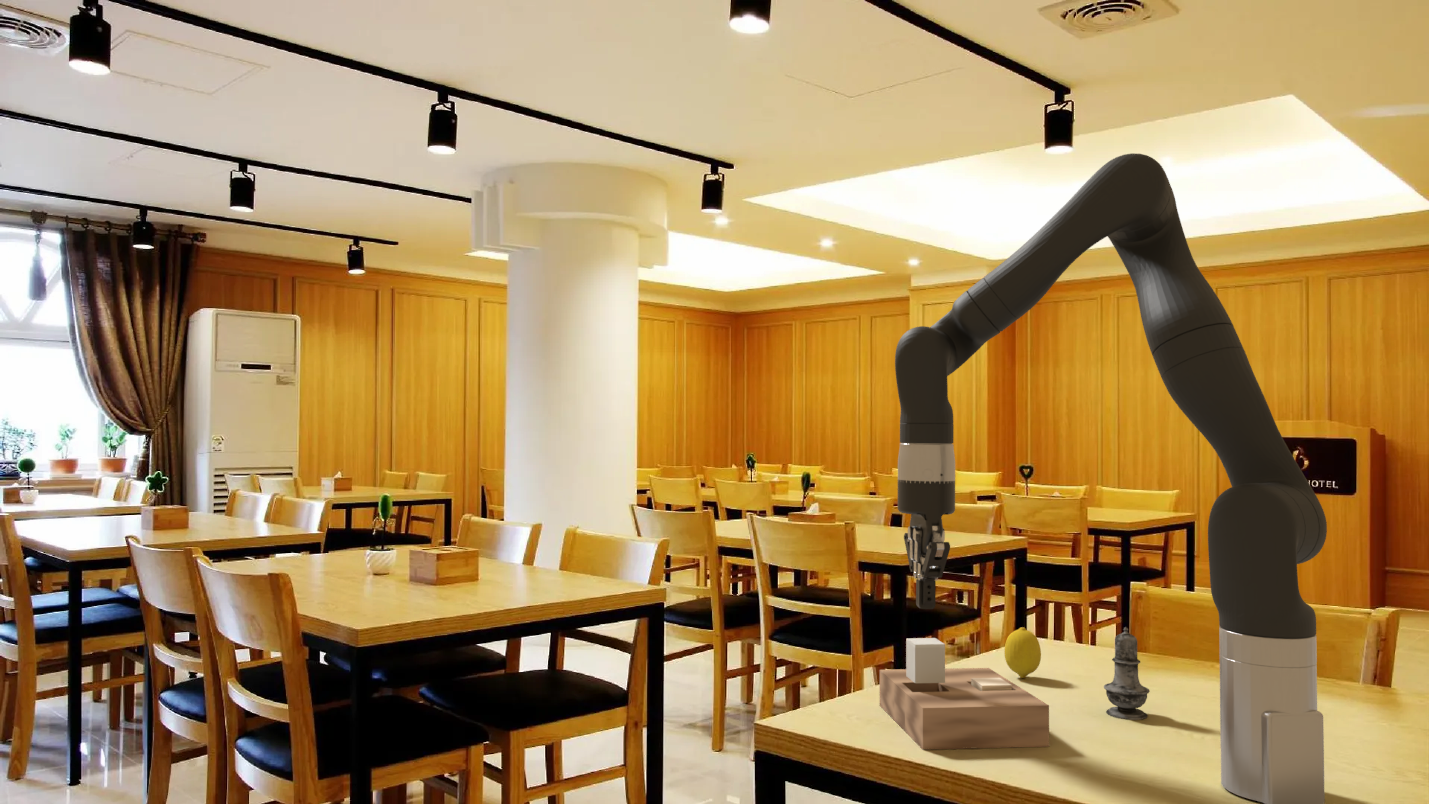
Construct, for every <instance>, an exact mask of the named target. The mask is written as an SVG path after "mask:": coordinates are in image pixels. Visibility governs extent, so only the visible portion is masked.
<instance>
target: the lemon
mask: <svg viewBox="0 0 1429 804" xmlns="http://www.w3.org/2000/svg"><path fill="white" fill-rule="evenodd" d="M1003 651H1004V660H1005V663H1006V664H1007V666H1008V668H1009V669H1010V670H1011V671H1012V672H1014V673H1015V674H1017V675H1018V676H1019V678H1021V679H1025V678H1026V677H1027V676H1028V675H1030V674H1032V673H1034V672H1035V671H1036V670H1037V669H1038V668H1039V666H1040V663H1041V659H1042V650H1041V645H1040V642H1039V639H1038V638H1037V636H1036V635H1035V634H1034V633H1033V632H1031V631H1030V630H1027V628H1025V627H1023V626H1022V627H1019V628H1018V629H1015V630H1013V631H1012V632H1011V633H1009V635H1008V636H1007V638H1006V640H1005V644H1004V650H1003Z"/></svg>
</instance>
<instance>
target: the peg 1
mask: <svg viewBox="0 0 1429 804" xmlns="http://www.w3.org/2000/svg"><path fill="white" fill-rule="evenodd" d="M905 644H906V645H905V647H906V648H905V652H906V653H905V654H906V655H905V656H906V657H905V662H906V663H905V667H906V668H905V669H906V676H907V677H908V678H909V679H911V680H912V681H913V682H914V683H945V669H946V644H945V642H942V641H940V640H939V639H938V638H936V637H924V638H923V637H917V638H916V637H913V638H906V641H905Z"/></svg>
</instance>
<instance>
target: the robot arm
mask: <svg viewBox="0 0 1429 804" xmlns="http://www.w3.org/2000/svg"><path fill="white" fill-rule="evenodd" d="M1166 173H1167V172H1166V171H1165V169H1164V168H1163V166H1162V165H1161V163H1159V162H1158V161H1157V160H1156V159H1154V158H1153V157H1151V156H1150V155H1147V154H1142V153H1127V154H1126V153H1125V154H1122V155H1119V156H1116V157H1115V158H1112V159H1111V160H1109V161H1107V162H1106V163H1105V164H1104V165H1102V166H1101V167H1100V168H1099V169H1098V170H1097V171H1096V172H1094V174H1092V176H1090V178H1089V179H1088V180H1086V182H1085V183H1084V184H1083V185H1082V186H1081V187H1080V188H1079V189H1078V190H1077V192H1075V193H1074V194H1073V196H1072V197H1071V198H1070V199H1069V200H1068V201H1067V202H1066V203H1065V204H1064V205H1063V206H1062V207H1061V208H1060V209H1058V211H1057V212H1055V214H1054V215H1053V216H1052V217H1051V218H1050V219H1049V220H1048V221H1047V222H1046V223H1045V224H1044V225H1043V226H1042V227H1041V228H1040V229H1039V230H1038V231H1037V232H1036V233H1034V234H1033V236H1031V237H1030V238H1029V239H1028V240H1027V241H1026V242H1025V243H1024V244H1023V245H1022V246H1021V247H1019V248H1018V249H1016V251H1015V252H1013V253H1012V254H1011V255H1010V256H1009V257H1007V258H1006V259H1005V260H1004V261H1002V262H1001V263H1000V264H999V265H998V266H997V267H995V268H994V269H993V270H991V271H990V272H988V273H987V274H985V276H984V277H982V278H981V279H980V280H978V281H977V282H976V283H974V284H973V285H972V286H971V287H969V288H968V289H967V290H965V291H964V292H963V293H962V294H961V295H960V296H958V297H957V298H956V300H955V301H954V302H953V304H952V308H951V309H950V311H948V312H947V313H946V314H945V315H944V316H942V317H941V318H940V319H939V320H937V321H936V322H935V323H933V324H932V325H931V326H922V325H921V326H915V327H912V328H910V329H908V330H906V332H904V333H903V334H902V335H901V337H900V339H899V340H898V342H897V346H896V348H895V355H894V356H895V357H894V371H895V380H896V387H897V394H898V399H899V404H900V405H899V406H900V418H899V449H898V457H897V510H898V512H899V513H903V514H906V515H907V514H908V515H910V521H909V526H908V527H907V532H905V533H904V534H903V540H904V545H905V550H906V554H907V555H906V556H907V560H908V564H909V570H910V573H913V577H914V579H916V580H915V604H916V607H918V608H919V609H921V610H934V609H935V608H936V585H937V584H936V581H938V579H939V578H942V577H943V576H944V575H943V574H944V571H945V567H946V564H947V561H948V556H949V553H950V550H951V544H950V542H949V541H945V538H946V532H945V528H944V526H943V519H942V517H943V516H944V515H952V514H954V513H955V511H956V458H955V456H956V455H955V451H954V450H955V449H954V430H955V429H954V412H953V411H954V410H953V407H952V405H951V403H950V401H949V397H948V396H949V395H948V394H949V393H948V392H949V391H948V390H949V389H948V388H949V387H948V377H949V376H950V375H951V374H953V373H954V372H956V371H957V370H958V369H959V368H960V367H961V366H963V365H964V364H965V363H966V362H967V361H968V360H969V359H971V358H972V356H973V355H974V354H975V353H976V352H978V350H980V349H981V347H982V346H984V345H985V344H986V343H987V342H988V341H990V340H992V338H994V337H996V336H997V335H1000V333H1001V332H1003V331H1004V330H1006V329H1007V328H1008V327H1009V326H1011V325H1012V324H1013V323H1015V322H1016V321H1017V320H1019V319H1020V318H1022V317H1023V316H1024V315H1025V314H1026V313H1028V312H1029V311H1030V310H1031V309H1033V307H1035V306H1036V304H1038V303H1039V302H1040V300H1041V299H1042V298H1044V297H1045V295H1046V294H1047V293H1048V291H1049V290H1050V289H1051V288H1052V286H1054V285H1055V283H1056V281H1057V280H1058V279H1059V278H1060V277H1061V276H1062V275H1063V273H1064V272H1065V271H1067V269H1069V267H1070V266H1072V264H1073V263H1074V262H1075V261H1076V260H1077V259H1078V258H1080V256H1081V255H1083V254H1084V253H1085V252H1086V251H1088V250H1089V249H1090V248H1091V247H1093V246H1095V245H1096V244H1097V243H1099V242H1100V241H1103V239H1105V238H1108V239H1109V241H1110V242H1111V244H1112V245H1113V247H1114V249H1115V251H1116V253H1117V254H1118V256H1119V258H1120V260H1121V262H1122V263H1123V266H1124V268H1125V269H1126V271H1127V273H1128V275H1129V277H1130V280H1131V281H1132V283H1133V286H1134V289H1135V293H1136V297H1137V302H1138V307H1139V313H1140V318H1141V323H1142V327H1143V331H1144V335H1145V338H1146V341H1147V345H1148V347H1149V350H1150V353H1151V355H1152V358H1153V360H1154V362H1155V363H1154V364H1155V365H1156V368H1157V370H1158V373H1159V375H1160V378H1161V380H1162V382H1163V385H1165V388H1166V390H1167V392H1168V394H1169V396H1170V397H1171V399H1172V400H1173V401H1174V402H1175V404H1176V405H1177V406H1178V408H1179V409H1180V410H1181V411H1182V413H1183V414H1184V415H1185V416H1186V418H1187V419H1188V420H1189V422H1191V424H1193V426H1194V428H1196V429H1197V430H1198V431H1199V432H1200V433H1201V435H1202V436H1203V437H1204V438H1205V439H1206V441H1207V442H1208V443H1209V444H1210V446H1211V447H1212V448H1213V450H1214V451H1215V453H1216V455H1217V456H1218V458H1219V460H1220V462H1221V464H1222V465H1223V467H1224V468H1223V469H1224V470H1225V472H1226V474H1227V478H1228V479H1229V482H1230V485H1231V487H1229V488H1227V489H1225V490H1224V491H1223V492H1222V493H1220V495H1218V496H1217V497H1216V499H1215V501H1214V502H1213V505H1212V507H1211V508H1210V513H1209V518H1208V524H1207V547H1208V549H1207V550H1208V565H1209V566H1208V567H1209V584H1210V592H1211V597H1212V600H1213V602H1214V603H1213V604H1214V605H1215V607H1216V610H1217V612H1218V622H1219V623H1218V624H1219V629H1218V630H1219V632H1218V633H1219V638H1218V639H1219V709H1220V710H1219V714H1220V715H1219V719H1220V721H1219V725H1220V727H1219V728H1220V729H1219V730H1220V735H1219V736H1220V740H1219V741H1220V777H1221V778H1220V784H1221V786H1222V787H1223V788H1224V789H1225V790H1227V791H1229V792H1230V793H1233V794H1234V795H1237V796H1239V797H1242V798H1246V799H1249V800H1252V801H1257V802H1260V803H1263V804H1325V803H1326V802H1325V749H1324V747H1325V744H1324V743H1325V741H1324V740H1325V739H1324V738H1325V735H1324V734H1325V733H1324V728H1325V727H1324V715H1323V713H1322V712H1321V711H1320V710H1318V679H1317V678H1318V677H1317V676H1318V673H1317V671H1318V669H1317V667H1318V666H1317V662H1318V659H1317V658H1318V655H1317V653H1318V651H1317V616H1316V611H1315V609H1314V608H1313V607H1312V606H1311V605H1309V604H1308V603H1306V602H1305V601H1304V599H1303V598H1302V596H1301V592H1300V588H1299V579H1298V578H1299V577H1298V576H1299V575H1298V565H1299V564H1303V563H1306V562H1308V561H1311V560H1312V559H1313V558H1315V557H1317V555H1318V554H1319V553H1320V552H1321V550H1322V549H1323V547H1324V545H1325V542H1326V539H1327V533H1328V532H1327V531H1328V525H1327V518H1326V514H1325V511H1324V509H1323V505H1322V504H1321V502H1320V500H1319V499H1318V497H1317V495H1316V493H1315V491H1314V490H1313V488H1312V486H1311V485H1310V484H1311V483H1309V481H1308V479H1307V478H1306V476H1305V475H1304V473H1303V471H1302V469H1301V467H1300V466H1299V464H1298V463H1297V461H1296V459H1295V457H1294V456H1293V454H1292V453H1291V450H1290V449H1289V447H1288V445H1287V443H1286V442H1285V440H1284V438H1283V436H1282V435H1281V432H1280V430H1279V428H1278V426H1277V424H1276V421H1275V419H1274V417H1273V415H1272V412H1271V410H1270V406H1269V405H1268V402H1267V400H1266V398H1265V395H1264V392H1263V391H1262V389H1261V386H1260V384H1259V382H1258V380H1257V378H1256V376H1255V373H1254V372H1253V369H1252V366H1251V364H1250V361H1249V358H1248V355H1247V354H1246V351H1245V349H1244V346H1243V344H1242V342H1241V340H1240V338H1239V335H1238V333H1237V331H1236V328H1235V326H1234V324H1233V322H1232V320H1231V318H1230V316H1229V314H1228V313H1227V311H1226V308H1225V306H1224V305H1223V303H1222V302H1221V300H1220V298H1219V297H1218V295H1217V294H1216V292H1215V291H1214V289H1213V288H1212V286H1211V285H1210V283H1209V282H1208V280H1207V279H1206V278H1205V276H1204V274H1203V273H1202V272H1201V270H1200V269H1199V268H1198V266H1197V264H1196V261H1195V259H1194V258H1193V255H1192V252H1191V250H1190V247H1189V243H1188V241H1187V238H1186V235H1185V232H1184V228H1183V225H1182V222H1181V219H1180V214H1179V212H1178V211H1179V210H1178V206H1177V201H1176V198H1175V194H1174V191H1173V188H1172V185H1171V183H1170V181H1169V178H1168V175H1167V174H1166Z"/></svg>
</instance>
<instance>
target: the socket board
mask: <svg viewBox="0 0 1429 804" xmlns="http://www.w3.org/2000/svg"><path fill="white" fill-rule="evenodd" d="M971 678H1001V679H1003V680H1004V681H1006V682H1008V683H1009V684H1011V685H1012V690H999V691H979V690H978V689H976V688H975V687H974V686H972V685H971ZM879 706H880V707H881V708H882V710H883V711H885V713H886V714H887V715H889V716H890V717H891V718H892V720H894V721H895V723H896V724H897V725H899V727H900V728H901V729H902V730H903V731H904V732H905V733H906V734H907V735H908V736H909V737H910V738H911V739H912V740H913V741H914V742H915V743H916V745H918V746H919V747H920V748H921V749H922V750H923V749H924V750H956V749H959V750H960V749H992V748H993V749H997V748H998V749H999V748H1001V749H1002V748H1033V747H1035V748H1039V747H1044V748H1045V747H1050V705H1049V704H1047V703H1046V702H1045V701H1043V700H1041V699H1040V698H1039V697H1036V696H1034V695H1033V694H1031V693H1029V692H1028V691H1027V690H1025V689H1023V688H1022V687H1021V686H1019V685H1017V684H1015V683H1013V681H1010V680H1008V678H1006V677H1004V676H1003V675H1001V674H999V672H996V671H994V670H993V669H991V668H990V667H967V668H964V667H959V668H955V667H953V668H952V667H951V668H945V683H914V682H913V681H912V680H911V679H909V678H908V677H907V676H906V668H905V669H904V668H903V669H902V668H900V669H894V668H893V669H879Z"/></svg>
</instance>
